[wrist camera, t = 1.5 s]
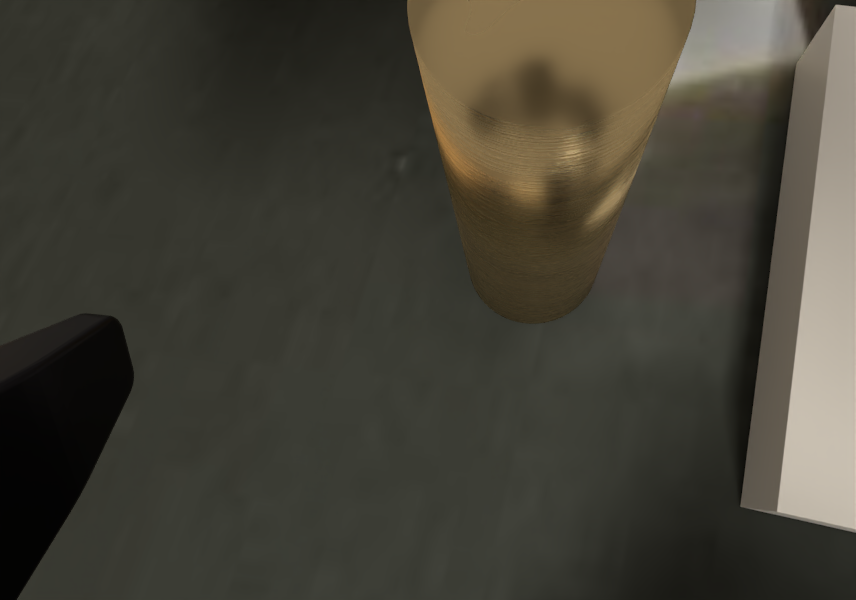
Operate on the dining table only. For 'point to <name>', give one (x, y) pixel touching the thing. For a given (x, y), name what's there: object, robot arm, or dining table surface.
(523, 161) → the brass tube
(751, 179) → the dining table surface
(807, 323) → the socket block
